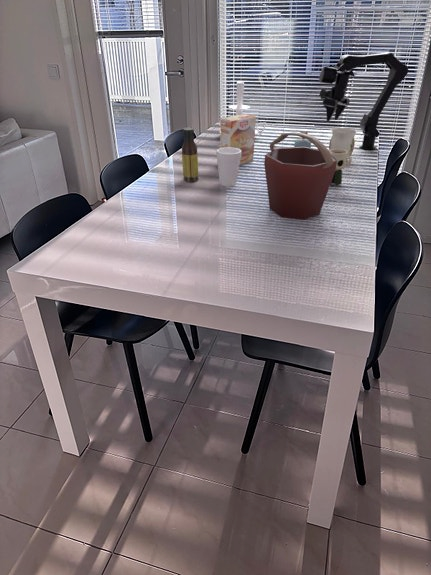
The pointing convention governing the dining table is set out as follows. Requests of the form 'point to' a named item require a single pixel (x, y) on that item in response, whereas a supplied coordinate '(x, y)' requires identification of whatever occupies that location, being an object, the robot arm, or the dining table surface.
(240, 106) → the candlestick
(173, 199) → the dining table surface
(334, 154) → the character mug
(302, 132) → the knob
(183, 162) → the sauce bottle
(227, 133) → the coffeecake box
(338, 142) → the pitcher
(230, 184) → the foam cup
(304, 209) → the bucket
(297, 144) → the tiered round stand
